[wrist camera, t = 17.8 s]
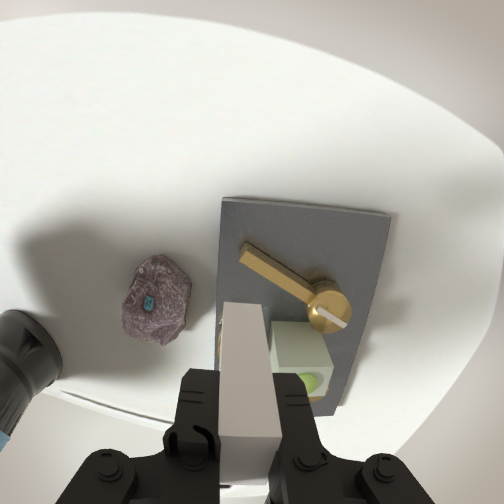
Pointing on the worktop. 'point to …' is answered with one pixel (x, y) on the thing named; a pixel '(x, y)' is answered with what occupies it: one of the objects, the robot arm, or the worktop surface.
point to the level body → (300, 354)
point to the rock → (156, 301)
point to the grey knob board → (303, 269)
